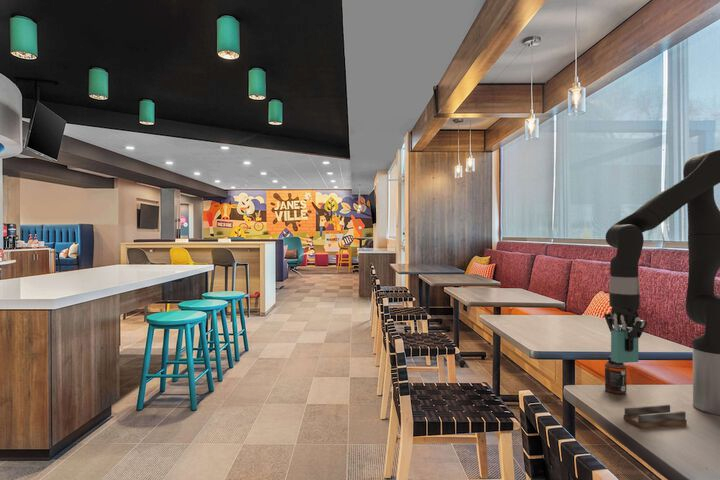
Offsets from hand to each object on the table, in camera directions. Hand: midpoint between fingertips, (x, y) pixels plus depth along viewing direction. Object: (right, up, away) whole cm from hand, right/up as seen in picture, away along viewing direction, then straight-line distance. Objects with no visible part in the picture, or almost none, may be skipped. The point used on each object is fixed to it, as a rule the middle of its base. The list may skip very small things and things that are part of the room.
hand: (624, 349), depth 117 cm
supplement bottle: (+5, -17, +12) cm, 22 cm away
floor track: (+2, -17, -10) cm, 20 cm away
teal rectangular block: (0, -3, 0) cm, 3 cm away
